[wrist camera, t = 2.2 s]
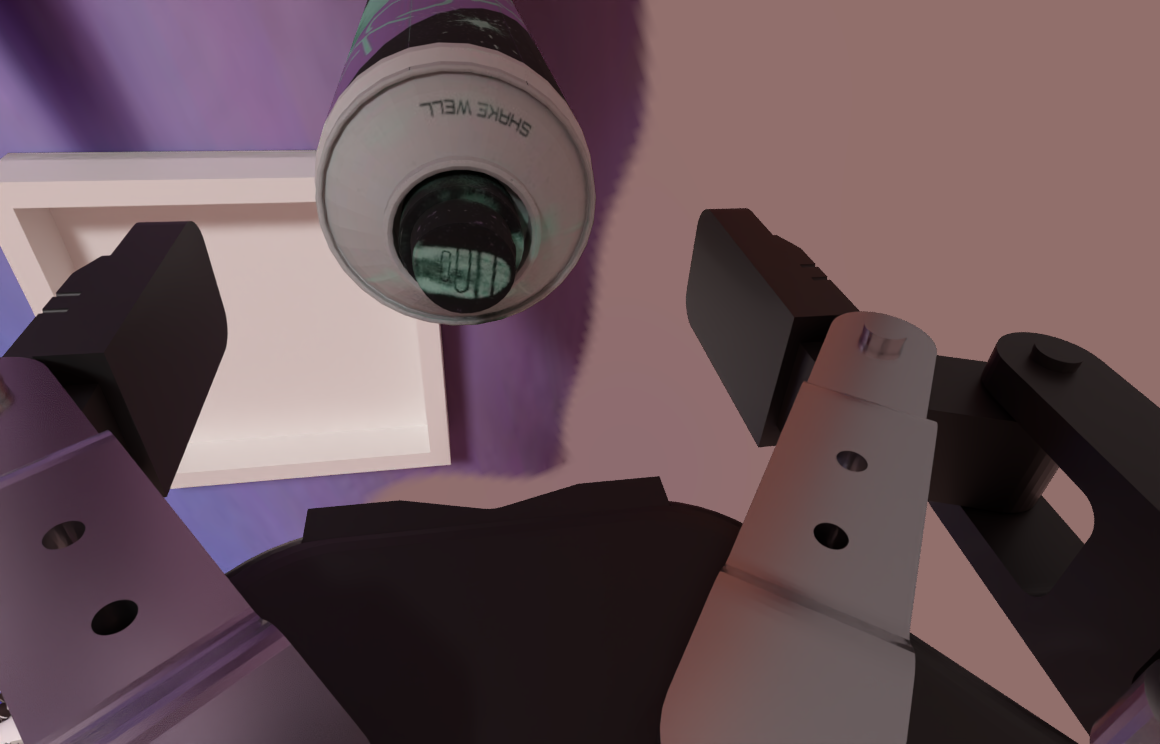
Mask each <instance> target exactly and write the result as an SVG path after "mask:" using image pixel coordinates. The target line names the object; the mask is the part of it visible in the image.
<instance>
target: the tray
mask: <svg viewBox="0 0 1160 744" xmlns="http://www.w3.org/2000/svg"><path fill="white" fill-rule="evenodd" d="M316 152H317V150H287V151H179V152H72V153H8V154H7V155H5V156H4V157H3V158H1V159H0V246H1V248H2V250H3V252H4V254H5V256H6V258H7V260H8V262H9V264H10V266H11V268H12V270H13V272H14V274H15V276H16V278H17V280H18V282H19V284H20V286H21V288H22V290H23V292H24V294H25V296H26V298H27V300H28V302H29V304H30V306H31V308H32V310H33V312H34V314H35V316H37V315H38V314H40V313H43V311H42V309H43V308H44V306H45V305H46V304H47V303H48V302H49V300H50V299H51V298H52V297H56V292H57V291H58V290H59V288H60V287H61V286H62V285H63V284H64V282H65V281H66V280H67V279H68V278H69V276H70V275H71V274H72V273H73V272H75V271H77V270H78V269H80V268H82V267H84V266H85V265H87V264H89V263H90V262H92V261H94V260H95V259H97V258H99V257H101V256H106V255H111V254H112V253H113V251H114V250H115V249H116V247H117V246H118V245H119V244H120V242H121V241H122V240H123V238H124V237H125V236H126V235H127V233H128V232H129V231H130V229H131V228H132V227H133V226H134V225H135V224H136V223H138V222H170V221H193V222H194V223H195V224H196V225H197V226H198V227H199V229H200V231H201V233H202V236H203V239H204V242H205V245H206V248H207V252H208V255H209V258H210V262H211V265H212V269H213V272H214V275H215V279H216V282H217V285H218V289H219V292H220V296H221V299H222V302H223V306H224V309H225V313H226V318H227V328H228V339H227V346H226V350H225V352H224V355H223V357H222V360H221V362H220V365H219V367H218V370H217V372H216V375H215V377H214V380H213V382H212V385H211V387H210V390H209V392H208V395H207V397H206V400H205V402H204V405H203V407H202V410H201V412H200V415H199V417H198V420H197V422H196V425H195V427H194V430H193V432H192V435H191V437H190V440H189V442H188V445H187V447H186V450H185V452H184V455H183V457H182V460H181V462H180V465H179V467H178V470H177V472H176V475H175V477H174V480H173V482H172V485H171V487H170V489H174V488H185V487H197V486H209V485H220V484H232V483H243V482H255V481H266V480H278V479H290V478H301V477H313V476H324V475H336V474H348V473H359V472H371V471H382V470H394V469H405V468H417V467H429V466H440V465H451V458H450V435H449V419H448V407H447V395H446V382H445V370H444V358H443V346H442V333H441V324H438V323H430V322H426V321H422V320H419V319H415V318H412V317H409V316H405V315H403V314H401V313H399V312H397V311H395V310H393V309H391V308H389V307H387V306H385V305H383V304H381V303H380V302H378V301H377V300H375V299H374V298H373V297H371V296H370V295H369V294H367V293H366V292H364V291H363V290H362V289H361V288H360V287H359V286H358V285H357V284H356V283H355V282H354V281H353V280H352V279H351V278H350V277H349V276H348V275H347V274H346V273H345V272H344V271H343V269H342V268H341V266H340V265H339V263H338V262H337V260H336V258H335V257H334V255H333V254H332V252H331V251H330V249H329V247H328V244H327V242H326V239H325V237H324V234H323V232H322V229H321V227H320V223H319V217H318V212H317V206H316V200H315V194H316V187H315V161H316Z"/></svg>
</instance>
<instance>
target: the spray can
mask: <svg viewBox="0 0 1160 744" xmlns="http://www.w3.org/2000/svg"><path fill="white" fill-rule="evenodd" d="M315 187H316V194H315V200H316V206H317V212H318V217H319V223H320V227H321V229H322V232H323V234H324V237H325V239H326V242H327V244H328V247H329V249H330V251H331V252H332V254H333V255H334V257H335V258H336V260H337V262H338V263H339V265H340V266H341V268H342V269H343V271H344V272H345V273H346V274H347V275H348V276H349V277H350V278H351V279H352V280H353V281H354V282H355V283H356V284H357V285H358V286H359V287H360V288H361V289H362V290H363V291H364V292H366V293H367V294H369V295H370V296H371V297H373V298H374V299H375V300H377V301H378V302H380V303H381V304H383V305H385V306H387V307H389V308H391V309H393V310H395V311H397V312H399V313H401V314H403V315H405V316H409V317H412V318H415V319H419V320H422V321H426V322H430V323H438V324H446V325H477V324H482V323H487V322H492V321H497V320H501V319H504V318H506V317H509V316H512V315H514V314H517V313H519V312H522V311H524V310H526V309H527V308H529V307H531V306H532V305H534V304H536V303H537V302H539V301H541V300H543V299H544V298H545V297H546V296H547V295H549V294H550V293H551V292H552V291H553V290H554V289H555V288H557V287H558V286H559V285H560V284H561V283H562V282H563V281H564V279H565V278H566V277H567V276H568V274H569V273H570V272H571V271H572V269H573V268H574V267H575V266H576V264H577V262H578V260H579V258H580V256H581V254H582V252H583V251H584V249H585V247H586V245H587V242H588V239H589V235H590V232H591V228H592V225H593V222H594V211H595V200H596V195H595V186H594V178H593V171H592V165H591V157H590V153H589V150H588V147H587V144H586V141H585V138H584V135H583V132H582V129H581V128H580V126H579V124H578V122H577V120H576V118H575V117H574V115H573V113H572V111H571V109H570V107H569V105H568V104H567V102H566V100H565V98H564V96H563V94H562V93H561V91H560V89H559V87H558V85H557V83H556V81H555V80H554V78H553V76H552V74H551V72H550V70H549V69H548V67H547V65H546V63H545V61H544V59H543V57H542V56H541V54H540V52H539V50H538V48H537V46H536V45H535V43H534V41H533V39H532V37H531V35H530V34H529V32H528V30H527V28H526V26H525V24H524V22H523V21H522V19H521V17H520V15H519V13H518V11H517V10H516V8H515V6H514V4H513V2H512V0H368V1H367V4H366V7H365V9H364V12H363V15H362V18H361V21H360V24H359V27H358V29H357V32H356V35H355V38H354V41H353V44H352V47H351V50H350V52H349V55H348V58H347V61H346V64H345V67H344V70H343V72H342V75H341V78H340V81H339V84H338V87H337V90H336V92H335V95H334V98H333V101H332V104H331V107H330V110H329V112H328V115H327V118H326V121H325V124H324V127H323V130H322V134H321V138H320V141H319V145H318V148H317V152H316V161H315Z"/></svg>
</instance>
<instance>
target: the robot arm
mask: <svg viewBox="0 0 1160 744" xmlns="http://www.w3.org/2000/svg"><path fill="white" fill-rule="evenodd" d="M686 308H687V315H688V319H689V323H690V325H691V327H692V329H693V331H694V332H695V334H696V336H697V338H698V339H699V341H700V343H701V345H702V347H703V349H704V350H705V352H706V354H707V356H708V358H709V359H710V361H711V363H712V365H713V367H714V368H715V370H716V372H717V374H718V375H719V377H720V379H721V381H722V383H723V385H724V386H725V388H726V390H727V392H728V393H729V395H730V397H731V399H732V401H733V402H734V404H735V406H736V408H737V410H738V411H739V413H740V415H741V417H742V418H743V420H744V422H745V424H746V425H747V428H748V429H749V431H750V433H751V435H752V437H753V438H754V440H755V442H756V444H757V446H758V447H765V446H776V447H775V449H774V452H773V454H772V456H771V458H770V461H769V463H768V466H767V468H766V470H765V473H764V475H763V477H762V480H761V482H760V484H759V487H758V489H757V492H756V494H755V496H754V499H753V501H752V503H751V506H750V508H749V510H748V513H747V515H746V517H745V520H744V522H743V523H741V522H739V521H737V520H735V519H732V518H730V517H728V516H725V515H723V514H720V513H718V512H715V511H712V510H708V509H705V508H702V507H699V506H694V505H689V504H684V503H679V502H672V501H668V498H667V496H666V493H665V490H664V488H663V485H662V482H661V480H660V477H659V476H658V477H647V478H637V479H625V480H615V481H604V482H593V483H583V484H576V485H573V486H570V487H566V488H563V489H560V490H557V491H554V492H550V493H547V494H543V495H540V496H537V497H534V498H530V499H527V500H524V501H520V502H517V503H514V504H511V505H507V506H504V507H500V508H496V509H480V508H470V507H460V506H450V505H440V504H430V503H420V502H410V501H400V500H399V501H389V502H378V503H367V504H356V505H346V506H335V507H324V508H313V509H308V511H307V517H306V523H305V528H304V534H303V537H302V538H299V539H296V540H293V541H289V542H287V543H284V544H282V545H279V546H277V547H274V548H272V549H269V550H267V551H265V552H263V553H261V554H259V555H257V556H255V557H253V558H251V559H249V560H247V561H245V562H244V563H242V564H240V565H239V566H237V567H235V568H234V569H232V570H230V571H229V572H227V573H226V574H224V573H223V572H222V570H221V569H220V568H219V567H218V565H217V564H216V563H215V562H214V560H213V559H212V558H211V557H210V555H209V554H208V553H207V552H206V550H205V549H204V548H203V547H202V545H201V544H200V543H199V541H198V540H197V539H196V538H195V536H194V535H193V534H192V533H191V531H190V530H189V529H188V528H187V526H186V525H185V524H184V523H183V521H182V520H181V519H180V518H179V516H178V515H177V514H176V513H175V511H174V510H173V509H172V508H171V506H170V505H169V504H168V503H167V501H166V500H165V499H164V498H163V497H167V495H168V492H169V490H170V487H171V485H172V482H173V480H174V477H175V475H176V472H177V470H178V467H179V465H180V462H181V460H182V457H183V455H184V452H185V450H186V447H187V445H188V442H189V440H190V437H191V435H192V432H193V430H194V427H195V425H196V422H197V420H198V417H199V415H200V412H201V410H202V407H203V405H204V402H205V400H206V397H207V395H208V392H209V390H210V387H211V385H212V382H213V380H214V377H215V375H216V372H217V370H218V367H219V365H220V362H221V360H222V357H223V355H224V352H225V350H226V346H227V339H228V328H227V318H226V313H225V309H224V306H223V302H222V299H221V296H220V292H219V289H218V285H217V282H216V279H215V275H214V272H213V269H212V265H211V262H210V258H209V255H208V252H207V248H206V245H205V242H204V239H203V236H202V233H201V231H200V229H199V227H198V226H197V225H196V224H195V223H194V222H193V221H170V222H138V223H136V224H135V225H134V226H133V227H132V228H131V229H130V231H129V232H128V233H127V235H126V236H125V237H124V238H123V240H122V241H121V242H120V244H119V245H118V246H117V247H116V249H115V250H114V251H113V253H112V254H111V255H106V256H101V257H99V258H97V259H95V260H94V261H92V262H90V263H89V264H87V265H85V266H84V267H82V268H80V269H78V270H77V271H75V272H73V273H72V274H71V275H70V276H69V278H68V279H67V280H66V281H65V282H64V284H63V285H62V286H61V287H60V288H59V290H58V291H57V292H56V297H52V298H51V299H50V300H49V302H48V303H47V304H46V305H45V306H44V308H43V309H42V311H43V313H40V314H38V315H37V316H36V317H35V318H34V320H33V321H32V322H31V323H30V324H29V325H28V327H27V328H26V329H25V330H24V331H23V333H22V334H21V335H20V336H19V337H18V339H17V340H16V341H15V342H14V343H13V345H12V346H11V347H10V348H9V349H8V351H7V352H6V353H5V354H4V355H3V357H0V691H1V693H2V696H3V698H4V700H5V702H6V705H7V707H8V709H9V712H10V714H11V716H12V718H13V721H14V723H15V725H16V727H17V730H18V732H19V734H20V736H21V739H22V741H23V743H24V744H1078V743H1077V742H1075V741H1074V740H1072V739H1071V738H1069V737H1067V736H1066V735H1065V734H1063V733H1061V732H1060V731H1058V730H1057V729H1055V728H1054V727H1052V726H1051V725H1049V724H1048V723H1046V722H1045V721H1043V720H1042V719H1040V718H1039V717H1037V716H1036V715H1034V714H1033V713H1031V712H1030V711H1028V710H1027V709H1025V708H1024V707H1022V706H1020V705H1019V704H1018V703H1016V702H1015V701H1013V700H1012V699H1010V698H1008V697H1007V696H1005V695H1004V694H1002V693H1001V692H999V691H998V690H996V689H995V688H993V687H992V686H990V685H989V684H987V683H986V682H984V681H983V680H981V679H980V678H978V677H977V676H975V675H974V674H972V673H970V672H969V671H968V670H966V669H965V668H963V667H962V666H960V665H959V664H957V663H955V662H954V661H952V660H951V659H949V658H948V657H946V656H945V655H943V654H942V653H940V652H939V651H937V650H936V649H934V648H933V647H931V646H930V645H928V644H927V643H925V642H923V641H922V640H921V639H919V638H918V637H916V636H915V635H913V634H912V633H910V625H911V617H912V610H913V603H914V596H915V588H916V581H917V574H918V567H919V566H918V565H919V559H920V552H921V545H922V538H923V530H924V523H925V516H926V508H927V501H928V502H929V504H930V505H931V507H932V508H933V510H934V511H935V513H936V514H937V516H938V517H939V518H940V520H941V522H942V523H943V524H944V526H945V527H946V529H947V530H948V532H949V533H950V535H951V536H952V537H953V539H954V540H955V542H956V543H957V545H958V546H959V548H960V549H961V550H962V552H963V553H964V555H965V556H966V558H967V559H968V561H969V562H970V564H971V565H972V566H973V568H974V569H975V571H976V572H977V574H978V575H979V577H980V578H981V579H982V581H983V582H984V584H985V585H986V587H987V588H988V590H989V591H990V593H991V594H992V595H993V597H994V598H995V600H996V601H997V603H998V604H999V606H1000V607H1001V608H1002V610H1003V611H1004V613H1005V614H1006V616H1007V617H1008V619H1009V620H1010V621H1011V623H1012V624H1013V626H1014V627H1015V628H1016V630H1017V632H1018V633H1019V634H1020V636H1021V637H1022V639H1023V640H1024V642H1025V643H1026V645H1027V646H1028V648H1029V649H1030V650H1031V652H1032V653H1033V655H1034V656H1035V658H1036V659H1037V661H1038V662H1039V663H1040V665H1041V666H1042V668H1043V669H1044V670H1045V672H1046V674H1047V675H1048V676H1049V678H1050V679H1051V681H1052V682H1053V684H1054V685H1055V687H1056V688H1057V689H1058V691H1059V692H1060V694H1061V695H1062V697H1063V698H1064V700H1065V701H1066V703H1067V704H1068V705H1069V707H1070V708H1071V710H1072V711H1073V712H1074V714H1075V715H1076V717H1077V718H1078V720H1079V721H1080V723H1081V724H1082V726H1083V727H1084V728H1085V730H1086V731H1087V733H1088V734H1089V736H1090V744H1160V408H1159V407H1158V406H1156V405H1155V404H1154V403H1153V402H1152V401H1150V400H1149V399H1148V398H1147V397H1146V396H1144V395H1143V394H1142V393H1141V392H1139V391H1138V390H1137V389H1136V388H1135V387H1133V386H1132V385H1131V384H1130V383H1128V382H1127V381H1126V380H1124V379H1123V378H1122V377H1121V376H1120V375H1119V374H1117V373H1116V372H1115V371H1114V370H1112V369H1111V368H1110V367H1109V366H1107V365H1106V364H1105V363H1104V362H1103V361H1101V360H1100V359H1098V358H1097V357H1096V356H1095V355H1093V354H1092V353H1090V352H1088V351H1087V350H1085V349H1083V348H1081V347H1079V346H1077V345H1075V344H1072V343H1070V342H1068V341H1064V340H1062V339H1059V338H1056V337H1052V336H1048V335H1043V334H1038V333H1029V332H1028V333H1027V332H1019V333H1011V334H1007V335H1005V336H1002V337H1001V338H1000V339H999V340H998V342H997V344H996V346H995V348H994V350H993V352H992V354H991V356H990V358H989V360H988V362H983V361H975V360H968V359H961V358H953V357H946V356H939V355H937V348H936V345H935V343H934V342H933V340H932V339H931V338H930V337H929V336H928V335H927V334H926V333H925V332H923V331H922V330H921V329H920V328H918V327H916V326H915V325H913V324H911V323H909V322H907V321H904V320H902V319H899V318H897V317H893V316H890V315H886V314H882V313H876V312H865V311H863V312H862V311H859V310H858V309H857V308H856V307H855V306H854V305H853V303H852V302H851V301H850V300H849V299H848V298H847V297H846V296H845V295H844V294H843V293H842V292H841V291H840V290H839V289H838V288H837V287H836V285H835V284H834V283H833V282H832V281H831V280H827V276H826V275H825V274H824V273H823V272H822V271H821V270H820V268H819V267H815V263H814V262H813V261H812V260H811V259H810V258H809V257H808V256H807V255H806V254H805V252H804V251H803V250H802V249H801V248H799V247H797V246H795V245H794V244H792V243H790V242H788V241H786V240H785V239H782V238H781V237H779V236H777V235H772V234H771V232H770V231H769V230H768V229H767V228H766V227H765V226H764V225H763V224H762V223H761V221H760V220H759V219H758V218H757V217H756V216H755V215H754V214H753V212H752V211H750V210H749V209H746V208H742V209H741V208H739V209H706V210H704V211H703V212H702V214H701V215H700V218H699V221H698V225H697V231H696V238H695V244H694V250H693V255H692V261H691V267H690V273H689V280H688V286H687V294H686ZM1059 467H1060V468H1061V469H1062V470H1063V471H1064V472H1065V473H1066V474H1067V476H1068V477H1069V478H1070V479H1071V480H1072V481H1073V482H1074V483H1075V484H1076V485H1077V486H1078V487H1079V488H1080V489H1081V490H1082V491H1083V493H1084V494H1085V495H1086V496H1087V498H1088V500H1089V501H1090V504H1091V506H1092V509H1093V512H1094V529H1093V532H1092V534H1091V536H1090V538H1089V539H1088V540H1087V542H1086V543H1085V544H1084V543H1083V542H1082V541H1081V540H1080V539H1079V538H1078V536H1077V535H1076V534H1075V533H1074V532H1073V531H1072V530H1071V529H1070V527H1069V526H1068V525H1067V524H1066V523H1065V522H1064V520H1063V519H1062V518H1061V517H1060V516H1059V515H1058V514H1057V512H1056V511H1055V510H1054V509H1053V508H1052V507H1051V506H1050V504H1049V503H1048V502H1047V501H1046V500H1045V499H1044V498H1043V496H1042V493H1043V492H1044V490H1045V488H1046V487H1047V485H1048V484H1049V482H1050V481H1051V479H1052V478H1053V476H1054V474H1055V473H1056V471H1057V470H1058V468H1059Z"/></svg>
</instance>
